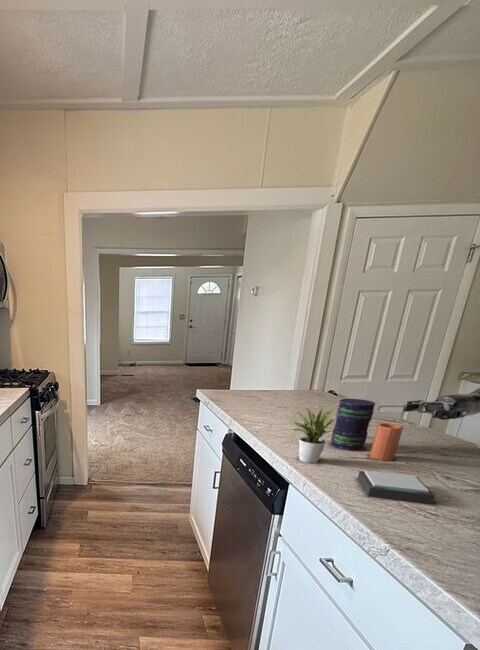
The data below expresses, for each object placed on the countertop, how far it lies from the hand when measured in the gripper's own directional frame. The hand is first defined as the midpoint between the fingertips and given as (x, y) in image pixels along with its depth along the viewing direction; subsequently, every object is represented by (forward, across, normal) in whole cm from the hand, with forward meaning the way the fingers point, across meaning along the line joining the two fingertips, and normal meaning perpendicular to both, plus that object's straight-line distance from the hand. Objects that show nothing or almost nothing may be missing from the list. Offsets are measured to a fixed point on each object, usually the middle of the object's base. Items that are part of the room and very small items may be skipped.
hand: (419, 411), depth 122 cm
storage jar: (+11, -12, +14) cm, 21 cm away
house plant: (+33, -7, +14) cm, 36 cm away
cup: (+11, 0, +13) cm, 17 cm away
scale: (+33, +19, +13) cm, 40 cm away
